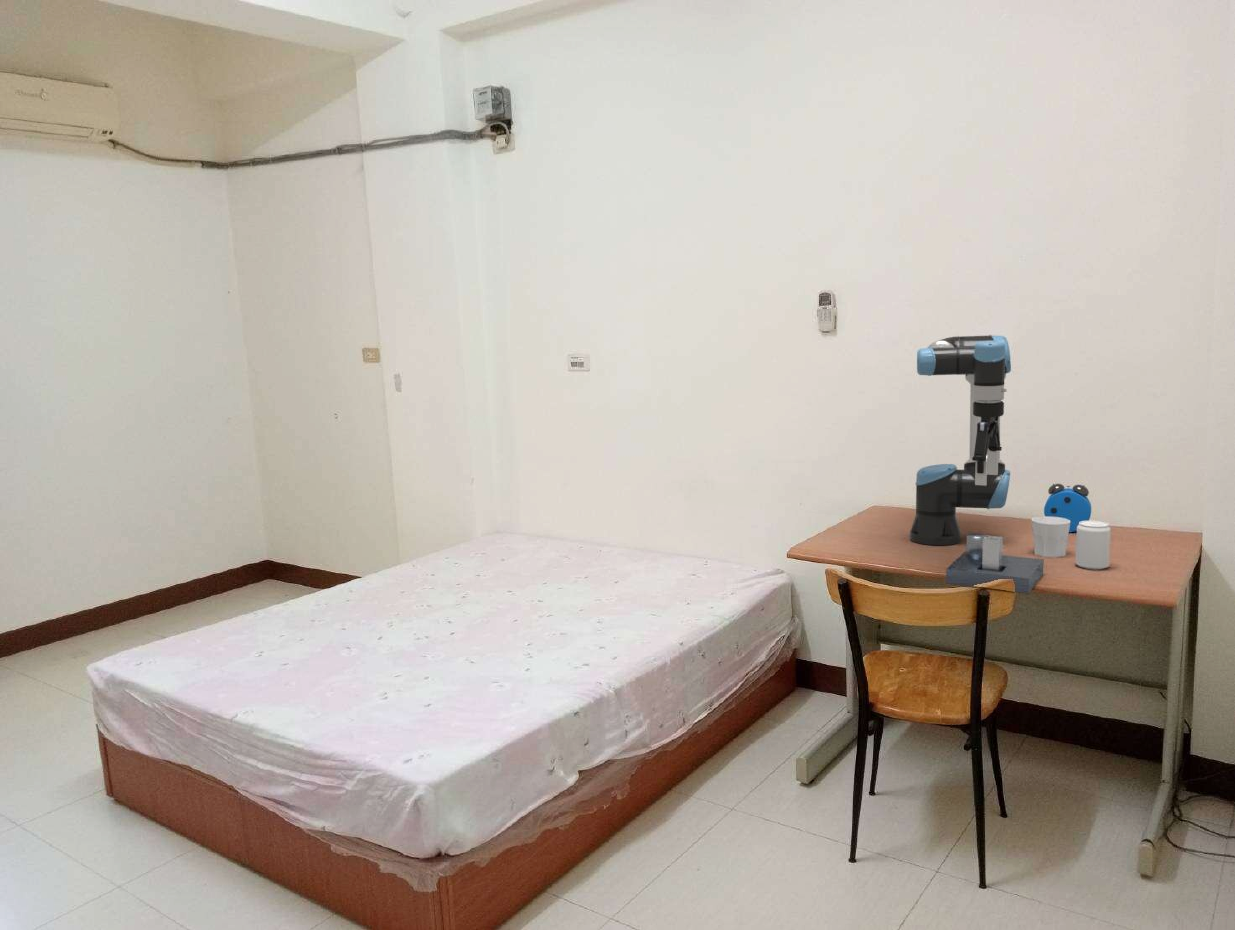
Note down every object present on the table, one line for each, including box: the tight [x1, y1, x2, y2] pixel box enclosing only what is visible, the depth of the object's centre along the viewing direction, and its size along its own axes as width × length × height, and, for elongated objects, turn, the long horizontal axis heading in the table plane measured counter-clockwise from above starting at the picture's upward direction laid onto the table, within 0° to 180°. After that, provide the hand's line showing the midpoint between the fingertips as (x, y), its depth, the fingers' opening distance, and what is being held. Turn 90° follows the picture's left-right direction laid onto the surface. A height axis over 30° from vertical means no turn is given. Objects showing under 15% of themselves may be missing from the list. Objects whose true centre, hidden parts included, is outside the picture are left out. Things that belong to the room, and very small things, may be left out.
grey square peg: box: [982, 534, 1004, 572], centre depth 234 cm, size 4×4×12 cm
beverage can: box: [1075, 520, 1111, 571], centre depth 245 cm, size 8×8×12 cm
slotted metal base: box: [945, 532, 1045, 595], centre depth 238 cm, size 20×20×10 cm
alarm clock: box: [1043, 483, 1092, 533], centre depth 284 cm, size 13×6×15 cm, turn 61°
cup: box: [1030, 516, 1070, 559], centre depth 259 cm, size 10×10×10 cm
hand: (986, 479), depth 242 cm, fingers open, 13 cm apart
